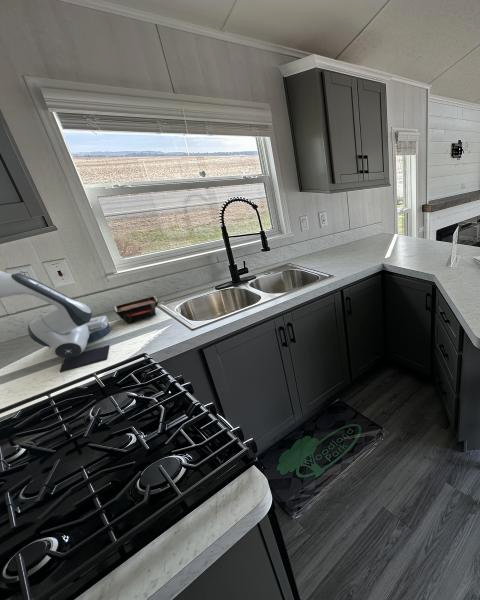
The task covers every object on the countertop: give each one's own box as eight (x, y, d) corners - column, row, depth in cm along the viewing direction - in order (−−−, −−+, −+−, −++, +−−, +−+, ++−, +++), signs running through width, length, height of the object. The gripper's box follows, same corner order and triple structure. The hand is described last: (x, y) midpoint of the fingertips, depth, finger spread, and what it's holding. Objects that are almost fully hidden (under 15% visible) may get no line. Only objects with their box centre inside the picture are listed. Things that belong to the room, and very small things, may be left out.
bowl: (74, 350, 137) (69, 342, 135) (53, 342, 144) (48, 334, 142) (119, 330, 151) (116, 323, 149) (98, 324, 158) (95, 316, 156)
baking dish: (123, 318, 166) (112, 302, 161) (163, 304, 175) (153, 288, 169) (125, 331, 156) (112, 315, 151) (166, 315, 165) (156, 299, 159)
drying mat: (59, 372, 123) (59, 371, 123) (65, 357, 132) (65, 356, 132) (107, 359, 130) (106, 358, 130) (109, 346, 139) (109, 344, 139)
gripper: (104, 319, 139) (107, 307, 149) (37, 335, 128) (45, 321, 138) (110, 332, 141) (112, 320, 152) (45, 348, 131) (52, 334, 141)
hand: (80, 320), depth 145 cm, fingers closed on sponge, 4 cm apart
